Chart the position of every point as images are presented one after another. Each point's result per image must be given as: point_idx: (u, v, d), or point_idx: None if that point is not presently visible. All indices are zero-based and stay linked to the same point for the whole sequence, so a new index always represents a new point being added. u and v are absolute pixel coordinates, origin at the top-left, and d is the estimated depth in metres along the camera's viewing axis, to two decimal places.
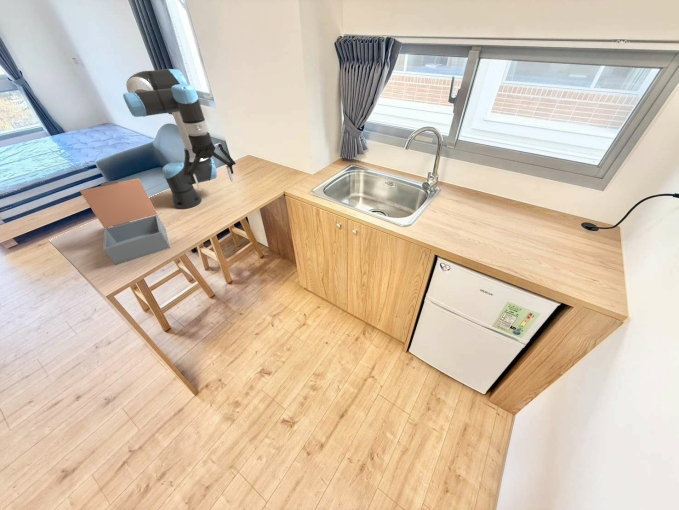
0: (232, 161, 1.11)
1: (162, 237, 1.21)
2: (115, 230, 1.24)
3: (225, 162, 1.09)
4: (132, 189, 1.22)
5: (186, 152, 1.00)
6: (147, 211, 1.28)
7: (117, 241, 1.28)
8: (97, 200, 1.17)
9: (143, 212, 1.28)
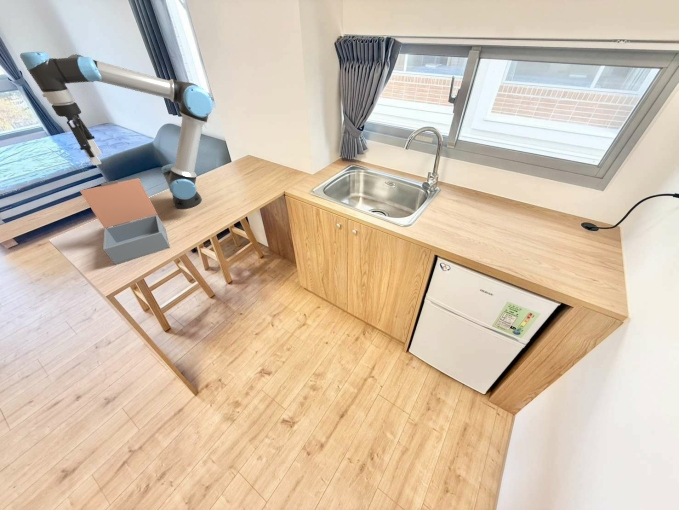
0: None
1: (162, 237, 1.21)
2: (115, 230, 1.24)
3: None
4: (132, 189, 1.22)
5: None
6: (147, 211, 1.28)
7: (117, 241, 1.28)
8: (97, 200, 1.17)
9: (143, 212, 1.28)
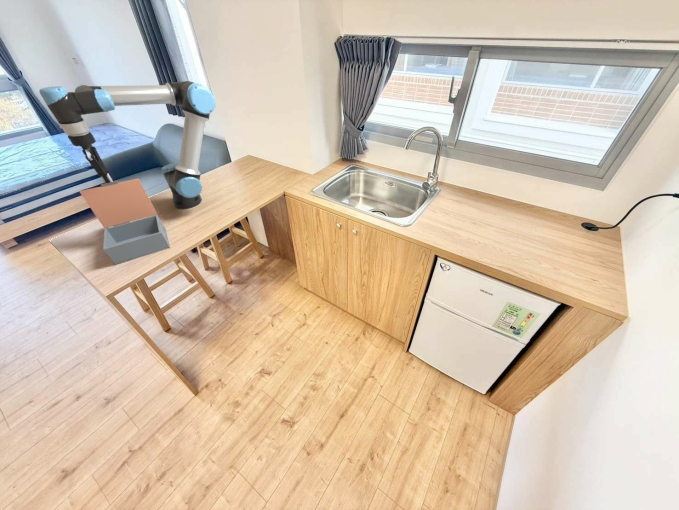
0: None
1: (162, 237, 1.21)
2: (115, 230, 1.24)
3: None
4: (132, 190, 1.22)
5: None
6: (147, 211, 1.28)
7: (117, 241, 1.28)
8: (97, 200, 1.16)
9: (143, 212, 1.28)
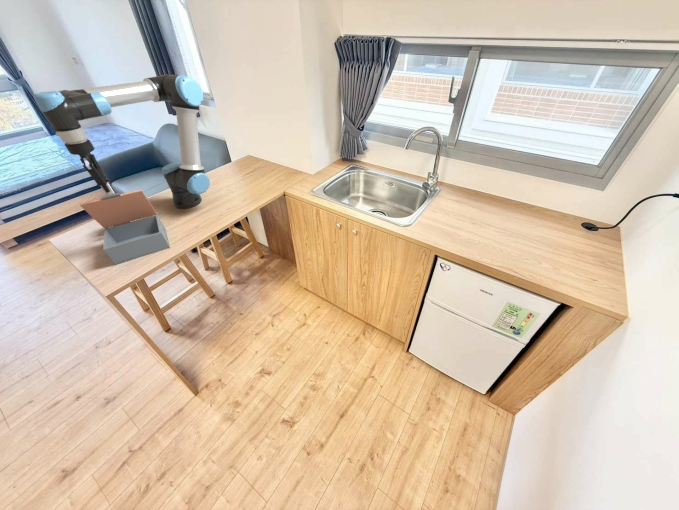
0: None
1: (162, 237, 1.21)
2: (115, 230, 1.24)
3: None
4: (134, 199, 1.17)
5: None
6: (147, 213, 1.28)
7: (117, 241, 1.28)
8: (98, 210, 1.13)
9: (143, 214, 1.27)
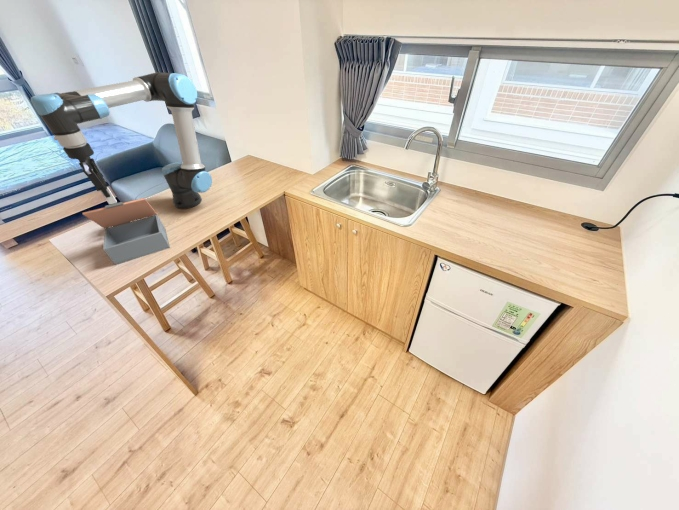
0: None
1: (162, 237, 1.21)
2: (115, 230, 1.24)
3: None
4: (137, 206, 1.17)
5: None
6: (148, 214, 1.27)
7: (117, 241, 1.28)
8: (100, 216, 1.12)
9: (144, 215, 1.27)
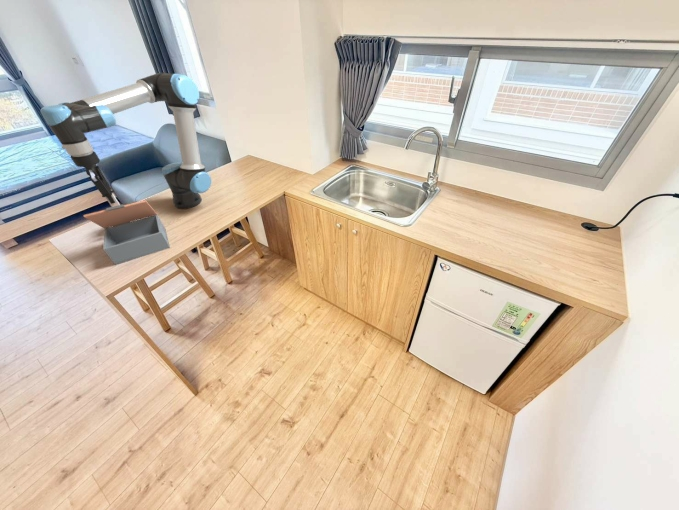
0: None
1: (162, 237, 1.21)
2: (115, 230, 1.24)
3: None
4: (138, 207, 1.17)
5: None
6: (148, 214, 1.27)
7: (117, 241, 1.28)
8: (101, 218, 1.12)
9: (144, 215, 1.27)
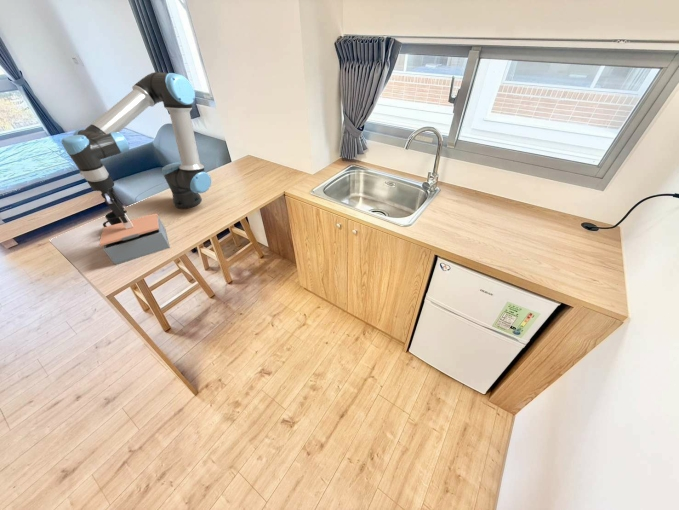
0: None
1: (162, 237, 1.21)
2: None
3: None
4: None
5: None
6: None
7: (117, 241, 1.28)
8: None
9: None
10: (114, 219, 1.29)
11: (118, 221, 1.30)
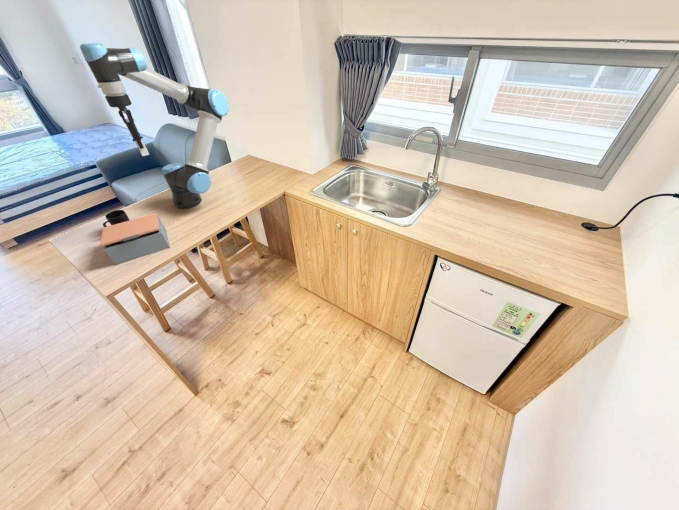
0: (132, 136, 1.09)
1: (162, 237, 1.21)
2: None
3: None
4: None
5: None
6: None
7: None
8: None
9: None
10: (114, 219, 1.29)
11: (118, 221, 1.30)
